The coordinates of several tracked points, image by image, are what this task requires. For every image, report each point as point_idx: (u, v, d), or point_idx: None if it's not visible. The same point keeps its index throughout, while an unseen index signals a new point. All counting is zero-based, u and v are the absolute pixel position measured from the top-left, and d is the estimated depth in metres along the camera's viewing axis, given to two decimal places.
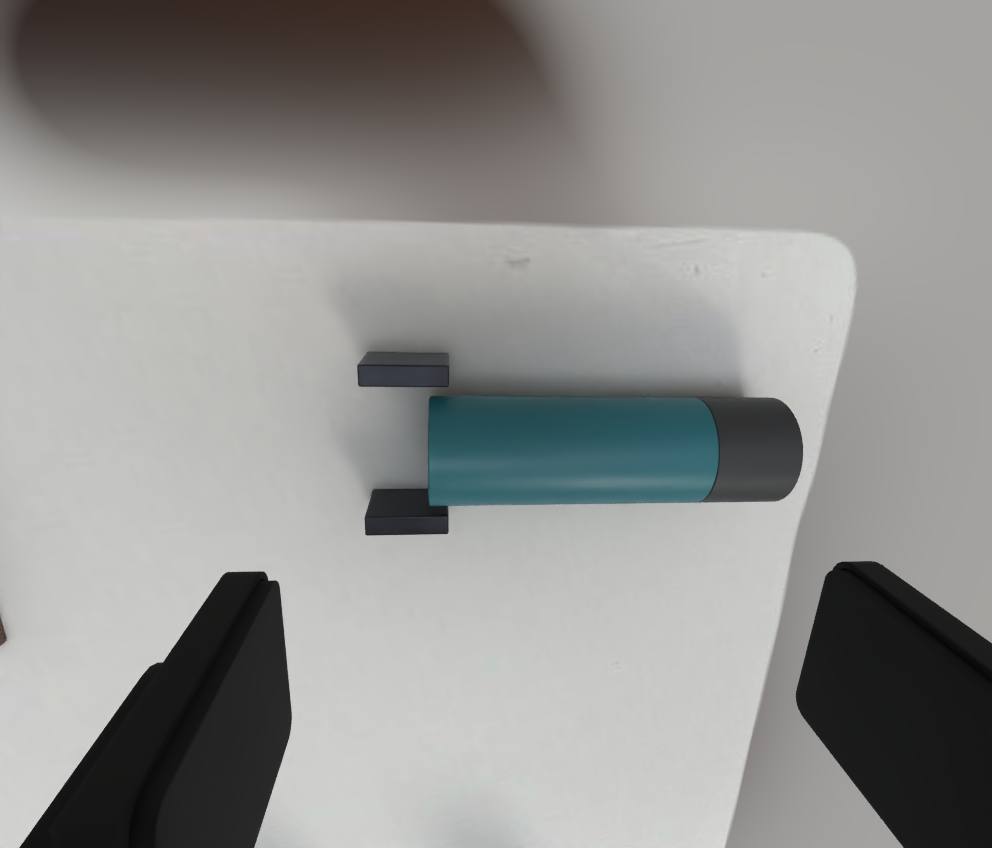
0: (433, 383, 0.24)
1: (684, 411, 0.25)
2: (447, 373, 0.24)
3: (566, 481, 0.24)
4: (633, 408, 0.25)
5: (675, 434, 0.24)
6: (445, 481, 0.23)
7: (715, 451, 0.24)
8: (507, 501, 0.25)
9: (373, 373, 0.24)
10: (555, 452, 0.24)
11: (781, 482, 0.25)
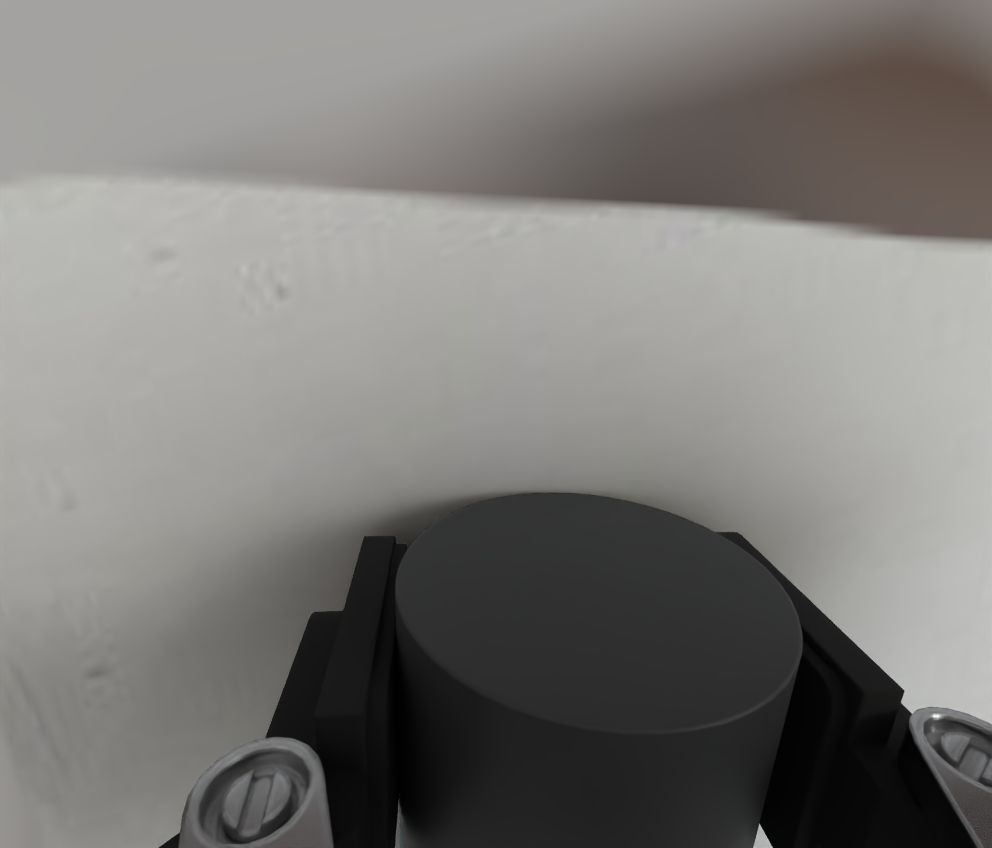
0: None
1: None
2: None
3: None
4: None
5: None
6: None
7: None
8: None
9: None
10: None
11: (717, 781, 0.05)
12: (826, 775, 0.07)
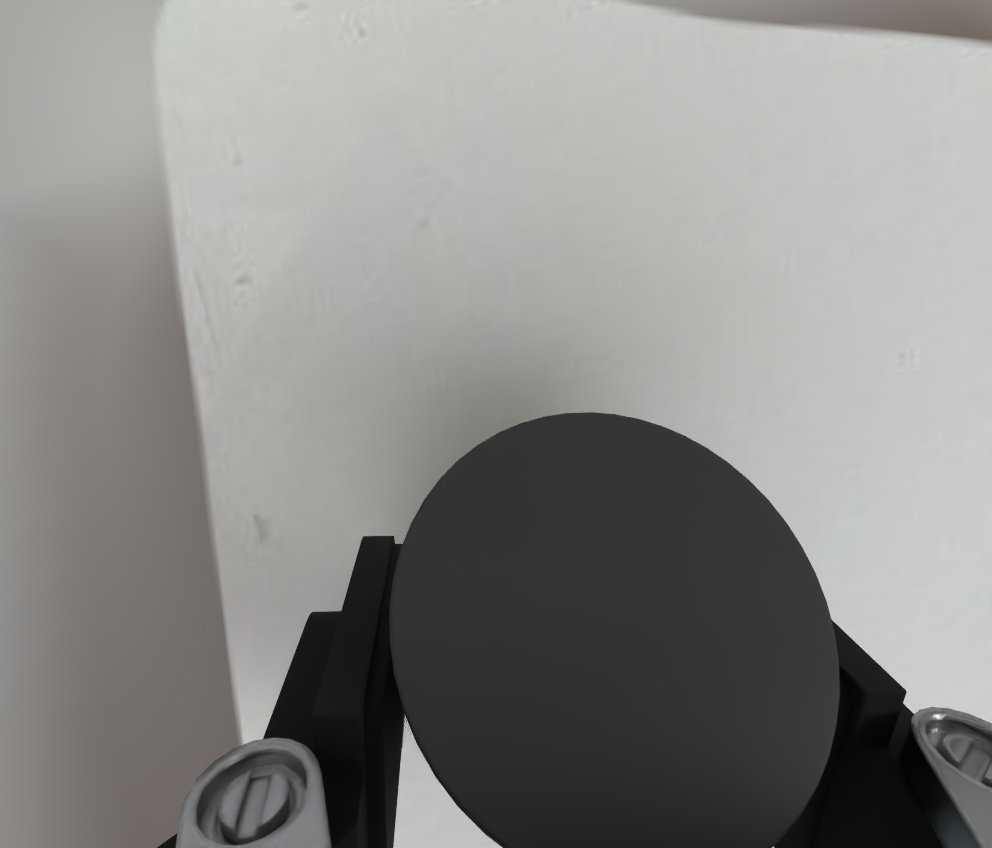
0: None
1: None
2: None
3: None
4: None
5: None
6: None
7: None
8: None
9: None
10: None
11: None
12: (828, 776, 0.07)
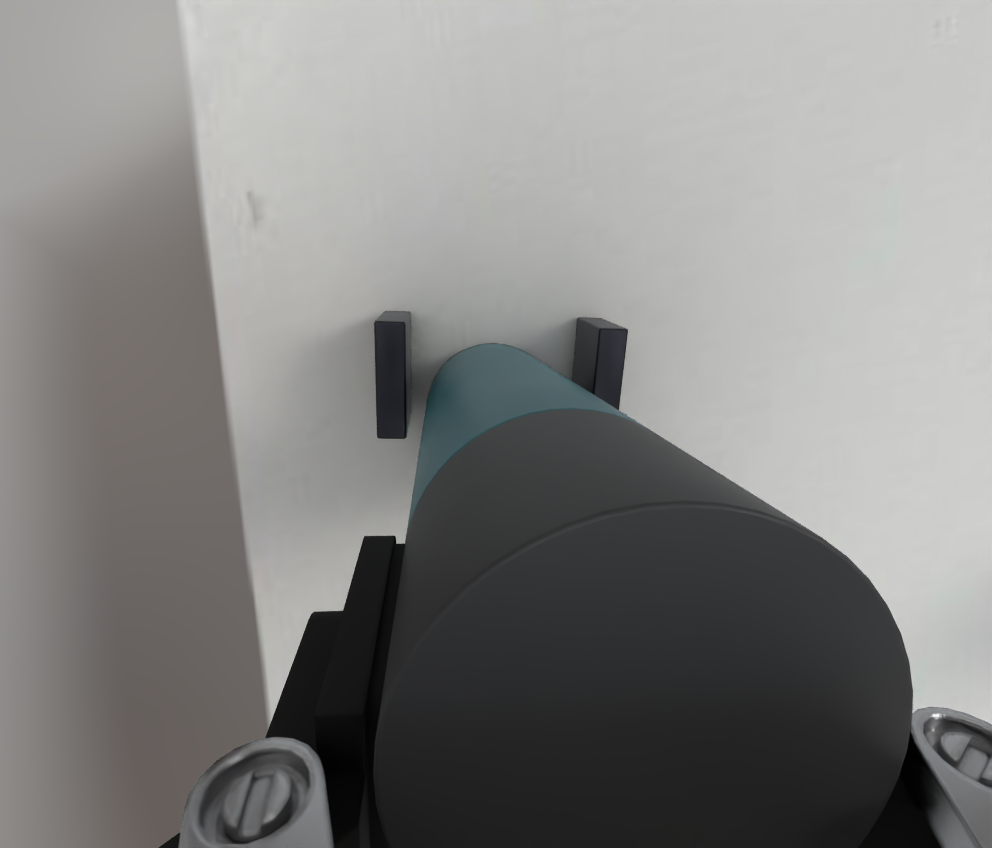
0: (400, 343, 0.18)
1: None
2: (385, 323, 0.17)
3: None
4: None
5: None
6: None
7: None
8: None
9: (388, 420, 0.18)
10: None
11: None
12: None
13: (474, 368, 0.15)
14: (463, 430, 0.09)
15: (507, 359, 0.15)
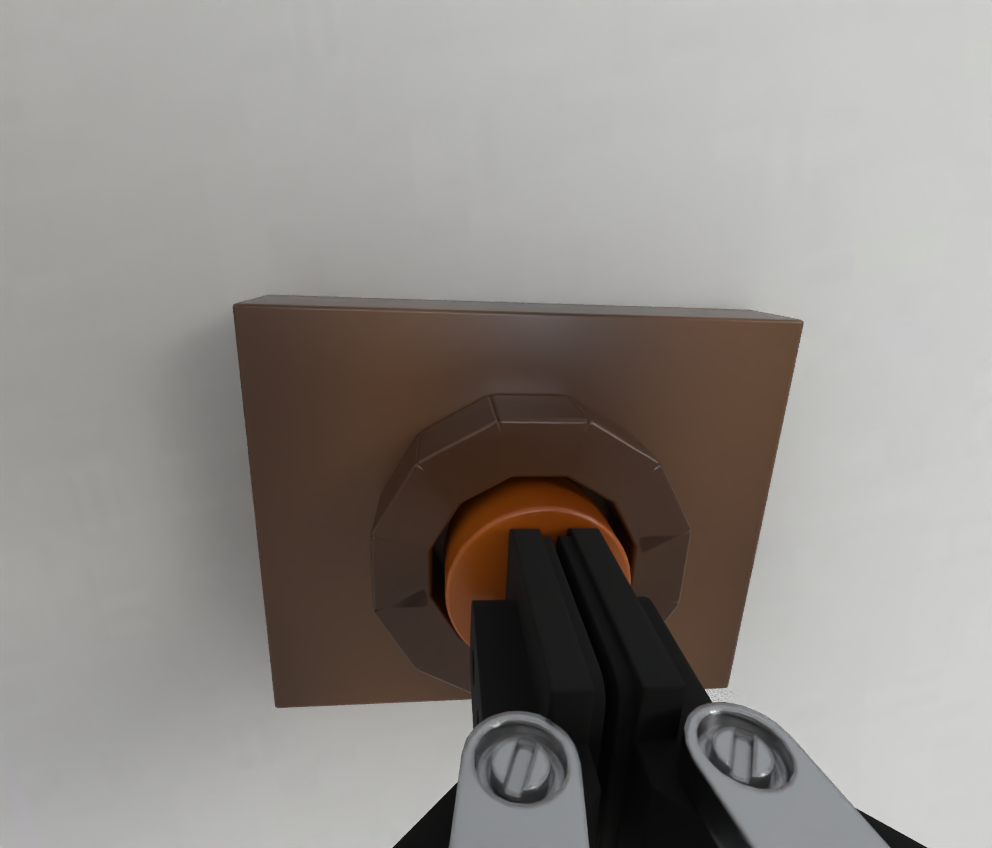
0: None
1: None
2: None
3: None
4: None
5: None
6: None
7: None
8: None
9: None
10: None
11: None
12: (622, 771, 0.07)
13: None
14: None
15: None
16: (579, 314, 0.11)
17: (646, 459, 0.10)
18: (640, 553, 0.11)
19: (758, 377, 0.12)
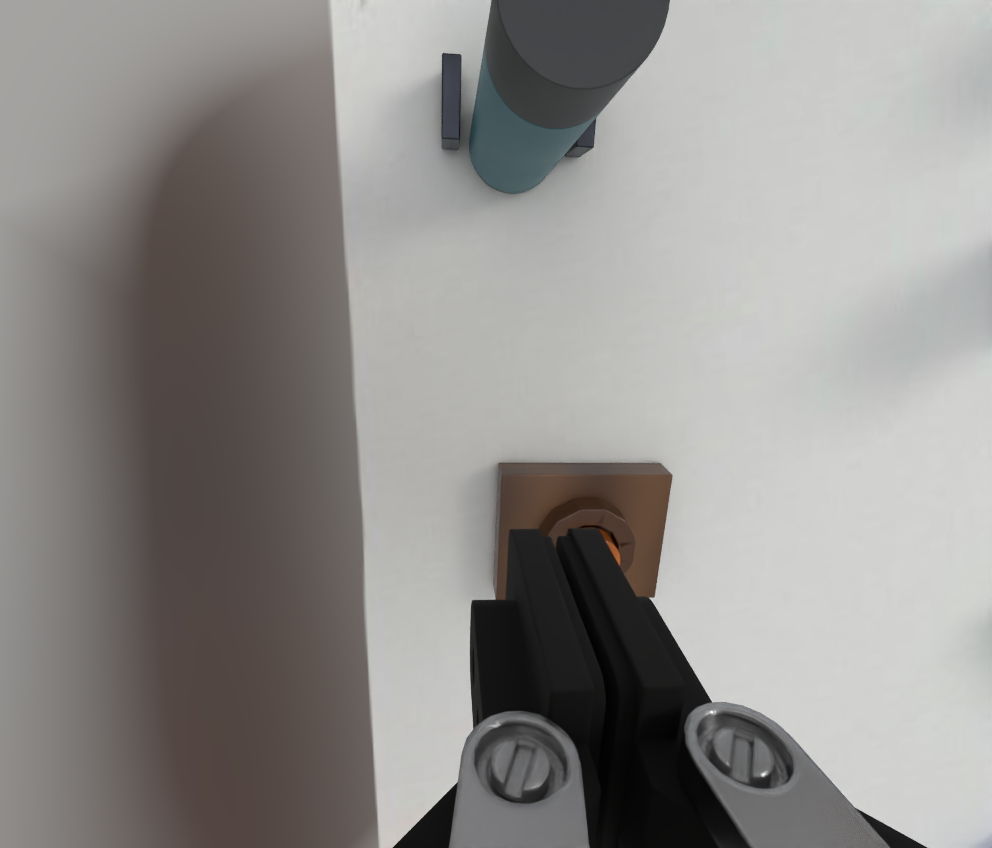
0: (457, 69, 0.28)
1: (489, 93, 0.21)
2: (449, 54, 0.28)
3: (536, 169, 0.27)
4: (483, 110, 0.23)
5: (507, 128, 0.22)
6: (520, 190, 0.32)
7: (530, 125, 0.20)
8: (552, 168, 0.29)
9: (448, 124, 0.29)
10: (508, 169, 0.27)
11: (595, 95, 0.17)
12: (622, 771, 0.07)
13: None
14: None
15: None
16: (602, 474, 0.37)
17: (622, 520, 0.36)
18: (620, 547, 0.37)
19: (658, 491, 0.38)
